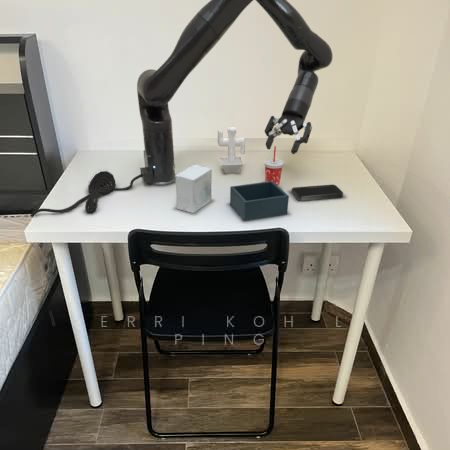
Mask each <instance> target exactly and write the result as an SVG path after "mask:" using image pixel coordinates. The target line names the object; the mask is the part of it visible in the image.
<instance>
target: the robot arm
mask: <svg viewBox="0 0 450 450" xmlns="http://www.w3.org/2000/svg"><path fill="white" fill-rule="evenodd" d="M253 1H254V0H209V1H208V2H207V3H206V4H205V5H203V6H202V8H200V9H199V10H198V11H197V13H196V14H194V16H193V17H192V18H191V19H190V21H189V22H188V23H187V25H186V26H185V28H183V30H182V31H181V34H180V36H179V38H178V40H177V41H176V44H175V46H174V49H173V50H172V52H171V54H170V55H169V56H168V58H167V59H166V60H165V61H164V62H163V63H162V64H161V66H159V68H157V69H151V68H149V69H145V70H144V71H143V72H141V74H140V75H139V76H138V79H137V81H136V92H137V101H138V110H139V116H140V120H141V125H142V136H143V144H144V145H143V147H144V150H143V160H144V167H143V166H142V167H139V171H140V174H138V175H136V176H134V177H133V178H132V179H131V180H130V182H129V185H128V186H126V187H121V188H120V187H115V188H113V191H115V192H116V191H120V192H121V191H128V190H130V189H131V188H133V185H134V182H135V181H136V180H138V179H140V178H141V179H142V181H143V182H144V183H147V182H148V184H149V185H155V186H166V185H170V184H172V183H175V182H176V171H175V170H176V164H175V153H174V136H173V134H174V133H173V119H172V116H171V113H170V108H169V103H170V101H171V100H172V99H173V97H174V96H175V94H176V93H177V92H178V90H179V89H180V87H181V86H182V84H183V83H184V81H186V79H187V77H188V76H189V75H190V74H191V73H192V72H193V71H194V69H195V68H197V66H198V65H199V64H200V63H202V61H203V59H204V58H205V57H206V56H207V55H208V54H210V52H211V51H212V49H213V48H214V47H215V46H216V45H217V44H218V43H219V41H220V40H221V39H222V38H223V37H224V35H225V34H226V33H227V32H228V30H229V29H230V28H231V27H232V26H233V25H234V23H235V22H236V21H237V19H238V18H239V16H241V14H242V13H243V11H244V10H245V9H246V8H247V7H248V6H249V5H250V4H251V3H252V2H253ZM255 1H256V2H257V4H258V5H259V6H260V7H261V8H262V9H263V10H264V11H265V12H266V13H267V15H268V16H269V18H270V19H271V20H272V21H273V22H274V24H275V25H276V26H277V28H278V29H279V30H280V31H281V33H282V35H283V36H284V37H285V38H286V41H288V43H289V44H290V45H291V47H292V48H293V49H295V50H297V51H303V52H302V53H301V55H300V56H299V60H298V64H297V65H298V67H297V76H296V79H295V81H294V84H293V87H292V89H291V90H290V93H289V94H288V97H287V100H286V102H285V104H284V107H283V110H282V113H281V115H280V117H279V118H277V117H275V115H271V116H270V118H269V120H268V122H267V124H266V127H265V128H264V133H265V135H266V137H267V139H266V142H265V147H266V149H267V150H271V149H272V146H273V143H274V139H275V138H277V137H279V136H281V135H288V136H295V140H294V142H293V144H292V147H291V150H290V153H291V155H295V154H297V153H298V152H299V148H300V146H301V145H302V144H308V142H309V139H310V136H311V132H312V129H313V125H312V123H311V121H308V122H305V120H306V118H307V116H308V113H309V110H310V109H311V106H312V102H313V98H314V95H315V92H316V90H317V88H318V84H319V76H318V75H317V73H315V72H317V71H319V70H320V71H321V70H322V69H325V68H328V67H329V66H330V65H331V64H332V62H333V58H334V57H333V51H332V48H331V46H330V45H329V44H328V43H327V41H325V40H324V39H323V38H322V37H321V36H320V35H318V34H317V33H316V32H314V31H313V30H312V29H311V28H310V26H309V24H308V23H307V22H306V20H305V18H304V17H303V16H302V15H301V13H300V12H299V10H297V9H296V8H295V6H293V5H292V4H291V3H290V2H289V1H288V0H255ZM302 129H304V131H303V134H302V136H300V133H299V131H301V130H302ZM100 188H101V190H102V189H104V188H102V187H100ZM105 189H107V188H105ZM109 189H110V188H109ZM98 190H100V189H98ZM95 191H97V190H95ZM113 191H112V192H113ZM91 194H92V193H88V194H86V195H85V196H83V197H81V198H80V199H78V200H77V201H76V202H75V203H73V204H72V205H70V206H68V207H65V208H62V209H53V208H38V209H35V210H34V211H33V212H31V214H30V215H29V216H30V217H35V215H37V214H38V213H43V212H47V213H58V214H60V213H65V212H68V211H69V212H70V211H71V210H73V209H75V208H76V207H78V206H79V205H80V204H81V203H83V202H84V201H87V200H88V198H89V197H90V195H91ZM48 313H49V315H50V316H49V317H50V320H51V321H50V322H51V324H52V327H55V326H56V323H55V317H54V315H53V311H52V310H48Z"/></svg>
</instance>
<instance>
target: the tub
mask: <svg viewBox="0 0 450 450" xmlns="http://www.w3.org/2000/svg"><path fill="white" fill-rule="evenodd" d="M229 188H230V189H229V190H230V191H229V205H230V206H231V207H232V209H233V210H234V211H235V212H236V213H237V215H238V216H239V217H240V218H241V220H242V221H244V222H247V221H254V220H260V219H267V218H272V217H280V216H285V215H288V209H289V200H290V199H289V198H290V195H289V194H288V193H287V192H286V191H284V190H283V189H282V188H281V187H280V186H279V187H278V186H277V185H276V184H275V183H274V182H273V181H268V182H265V181H262V182H254V183H247V184H240V185H239V184H238V185H232V186H230V187H229Z"/></svg>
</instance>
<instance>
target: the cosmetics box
mask: <svg viewBox="0 0 450 450" xmlns="http://www.w3.org/2000/svg"><path fill="white" fill-rule="evenodd" d="M212 171H213V170H212V167H211V168H210V167H207V166H202V165H199V164H193V165H191V166H190V167H187V168H186V169H184V170H183V171H181V172H179V173H177V174H175V196H176V199H175V200H176V201H175V202H176V207H175V209H177V210H181V211H184V212H188V213H191V214H195V213H196V212H197V211H199V210H200V209H202V208H203V207H204V206H207V204H209V203H210V202H212V183H213V181H212V178H213V177H212V175H213V174H212Z"/></svg>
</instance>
